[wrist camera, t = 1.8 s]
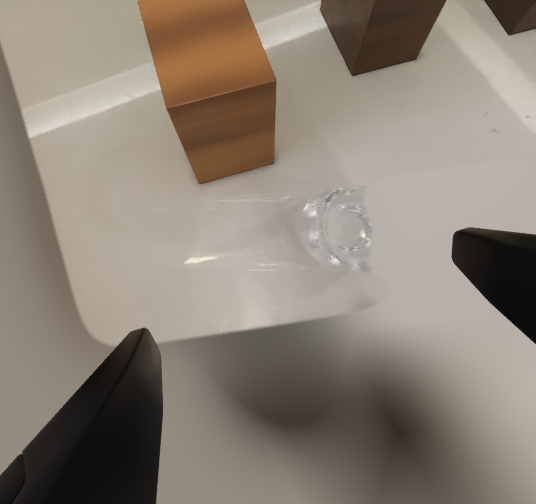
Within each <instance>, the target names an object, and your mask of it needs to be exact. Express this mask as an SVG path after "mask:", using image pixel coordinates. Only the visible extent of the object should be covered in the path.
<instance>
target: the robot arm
mask: <svg viewBox="0 0 536 504" xmlns="http://www.w3.org/2000/svg"><path fill="white" fill-rule="evenodd" d="M452 260H453V262H454V264H455V265H456V266H457V267H458V268H459V269H460V270H461V272H462V273H463V274H464V275H465V276H466V277H467V278H468V279H469V280H470V281H471V283H472V284H473V285H474V286H475V287H476V288H477V289H478V290H479V291H480V293H482V295H483V296H484V297H485V298H486V299H487V300H488V301H489V302H490V303H491V304H492V305H493V306H494V307H495V308H496V309H497V310H499V311H500V312H501V313H502V314H503V315H504V316H505V317H506V318H507V319H509V320H510V321H511V322H512V323H513V324H514V325H515V326H516V327H517V328H518V329H520V330H521V331H522V332H523V333H524V334H525V335H526V336H527V337H529V338H530V339H531V340H532V341H533V342H534V343H535V344H536V235H534V234H526V233H517V232H508V231H499V230H489V229H480V228H471V227H469V228H465V229H462V230H458V231H456V232H455V233H454V235H453V243H452ZM162 418H163V393H162V370H161V354H160V351H159V348H158V346H157V344H156V342H155V340H154V339H153V337H152V335H151V333H150V331H149V330H148V329H147V328H141V329H138V330H134V331H131V332H130V333H129V334H128V335H127V336H126V337H125V338H124V339H123V340H122V342H121V343H120V344H119V345H118V346H117V347H116V348H115V349H114V351H113V352H112V353H111V354H110V355H109V356H108V357H107V358H106V359H105V360H104V362H103V363H102V364H101V365H100V366H99V367H98V368H97V369H96V370H95V371H94V373H93V374H92V375H91V376H90V377H89V378H88V379H87V380H86V381H85V382H84V384H83V385H82V386H81V387H80V388H79V389H78V390H77V391H76V393H75V394H74V395H73V396H72V397H71V398H70V399H69V400H68V401H67V402H66V403H65V405H64V406H63V407H62V408H61V409H60V410H59V411H58V413H57V414H56V415H55V416H54V417H53V418H52V419H51V420H50V421H49V422H48V424H46V426H45V427H44V428H43V429H42V430H41V431H40V432H39V433H38V435H37V436H36V437H35V438H34V439H33V440H32V441H31V442H30V443H29V444H28V445H27V447H26V448H25V449H24V450H23V452H22V454H20V455H18V456H17V457H16V459H15V460H14V461H13V462H12V463H11V464H10V465H9V466H8V468H7V469H6V470H5V471H4V472H3V473H2V474H1V475H0V504H156V495H157V482H158V470H159V457H160V444H161V431H162Z"/></svg>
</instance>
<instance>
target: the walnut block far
mask: <svg viewBox="0 0 536 504" xmlns="http://www.w3.org/2000/svg"><path fill="white" fill-rule="evenodd" d="M485 1H486V2H487V3H488V5H489V6H490V8H491V9H492V11H493V12H494V14H495V15H496V16H497V18H498V19H499V21H500V22H501V24H502V25H503V26H504V28H505V29H506V31H507V32H508V34H509V35H510V34H514V33H518V32H522V31H525V30H529V29H533V28H536V0H485Z"/></svg>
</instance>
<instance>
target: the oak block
mask: <svg viewBox="0 0 536 504" xmlns="http://www.w3.org/2000/svg"><path fill="white" fill-rule="evenodd" d="M138 5H139V9H140V13H141V16H142V20H143V24H144V28H145V31H146V35H147V39H148V42H149V46H150V50H151V53H152V57H153V61H154V65H155V68H156V72H157V76H158V79H159V83H160V87H161V90H162V94H163V98H164V101H165V105H166V109H167V111H168V113H169V116H170V118H171V120H172V123H173V125H174V127H175V129H176V132H177V134H178V136H179V139H180V141H181V143H182V145H183V148H184V150H185V152H186V155H187V157H188V159H189V162H190V164H191V166H192V168H193V171H194V173H195V175H196V178H197V180H198V182H199V184H200V183H204V182H207V181H211V180H215V179H218V178H222V177H225V176H229V175H232V174H236V173H240V172H243V171H247V170H250V169H254V168H257V167H261V166H265V165H268V164H272V163H274V143H275V108H276V78H275V76H274V73H273V71H272V68H271V66H270V63H269V61H268V58H267V56H266V53H265V51H264V48H263V46H262V43H261V41H260V38H259V36H258V33H257V31H256V28H255V26H254V23H253V21H252V18H251V16H250V13H249V11H248V8H247V6H246V3H245V1H244V0H139V1H138Z"/></svg>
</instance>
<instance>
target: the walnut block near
mask: <svg viewBox="0 0 536 504" xmlns="http://www.w3.org/2000/svg"><path fill="white" fill-rule="evenodd" d="M445 2H446V0H322V1H321V7H320V10H321V12H322V14H323V16H324V18H325V20H326V22H327V24H328V26H329V28H330V30H331V33H332V35H333V37H334V39H335V41H336V43H337V45H338V47H339V49H340V51H341V53H342V55H343V57H344V59H345V61H346V63H347V65H348V67H349V69H350V71H351V74H352V75H356V74H359V73H363V72H367V71H371V70H375V69H379V68H382V67H386V66H390V65H394V64H398V63H401V62H405V61H409V60H413V59H416V58H417V56H418V54H419V52H420V50H421V48H422V47H423V45H424V43H425V41H426V39H427V37H428V35H429V33H430V31H431V29H432V27H433V25H434V23H435V21H436V20H437V18H438V16H439V14H440V12H441V10H442V8H443V6H444V4H445Z"/></svg>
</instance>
